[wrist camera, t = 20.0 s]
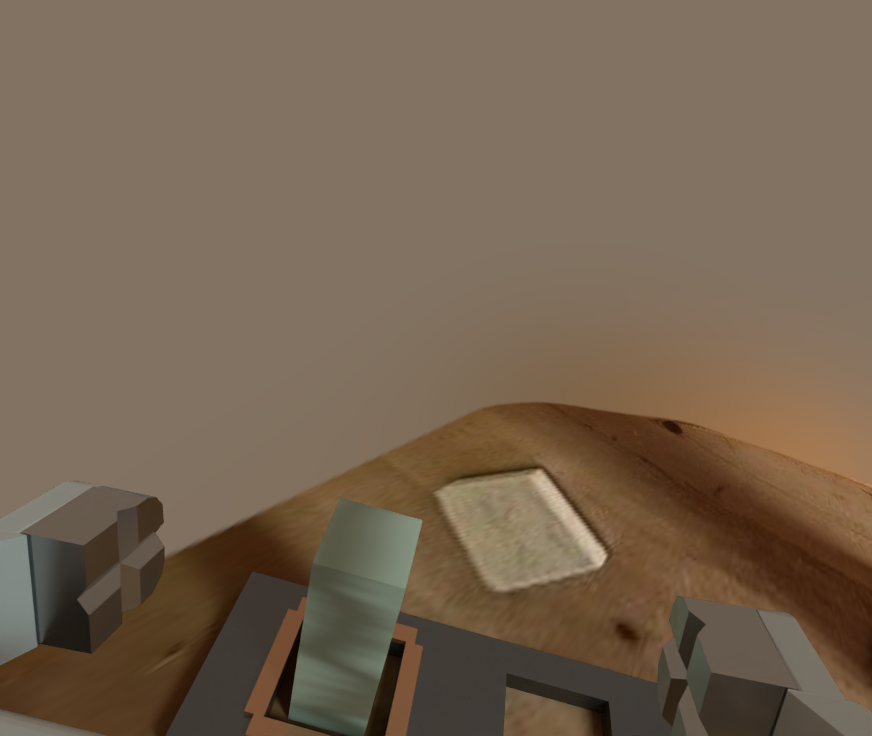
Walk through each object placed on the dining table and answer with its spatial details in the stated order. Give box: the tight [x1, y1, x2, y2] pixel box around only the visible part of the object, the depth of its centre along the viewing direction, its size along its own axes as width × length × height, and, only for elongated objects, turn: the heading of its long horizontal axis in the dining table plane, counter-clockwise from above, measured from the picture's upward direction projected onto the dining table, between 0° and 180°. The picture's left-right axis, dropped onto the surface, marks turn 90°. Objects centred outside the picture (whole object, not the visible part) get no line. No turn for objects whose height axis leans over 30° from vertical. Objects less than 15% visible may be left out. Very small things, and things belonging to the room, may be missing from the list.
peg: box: [288, 498, 422, 736], centre depth 30 cm, size 4×4×12 cm
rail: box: [165, 571, 672, 736], centre depth 32 cm, size 26×10×2 cm, turn 81°
